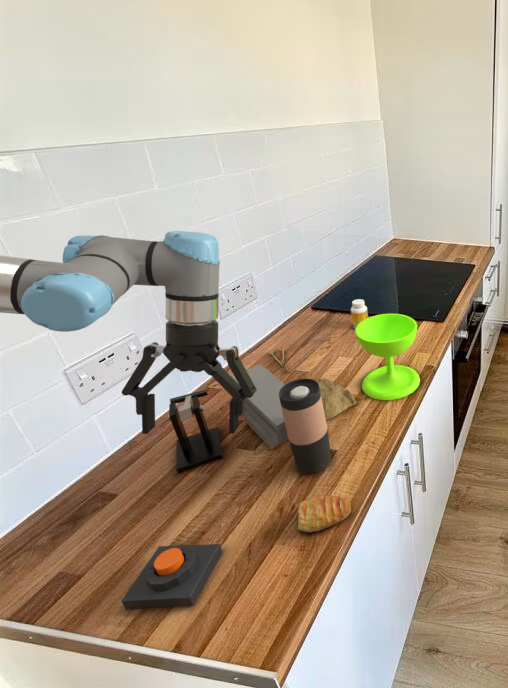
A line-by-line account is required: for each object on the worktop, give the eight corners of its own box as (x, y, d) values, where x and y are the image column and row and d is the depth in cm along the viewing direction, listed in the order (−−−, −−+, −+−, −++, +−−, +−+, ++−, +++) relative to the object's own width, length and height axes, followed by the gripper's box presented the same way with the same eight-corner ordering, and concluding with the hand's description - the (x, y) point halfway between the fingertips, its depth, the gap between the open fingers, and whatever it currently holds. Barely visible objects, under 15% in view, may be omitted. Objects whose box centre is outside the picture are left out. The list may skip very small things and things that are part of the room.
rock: (358, 386, 117) (318, 385, 114) (357, 376, 109) (315, 375, 107) (354, 426, 112) (312, 427, 109) (353, 419, 105) (308, 419, 102)
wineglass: (401, 360, 133) (397, 308, 125) (431, 384, 123) (429, 329, 115) (351, 380, 123) (344, 325, 115) (380, 408, 113) (374, 349, 105)
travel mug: (289, 461, 95) (271, 388, 86) (322, 444, 100) (309, 373, 92) (304, 481, 91) (287, 406, 82) (338, 462, 96) (326, 389, 87)
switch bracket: (177, 443, 98) (160, 399, 93) (219, 431, 102) (205, 387, 97) (178, 473, 91) (159, 426, 85) (222, 458, 95) (207, 412, 90)
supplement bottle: (353, 323, 152) (350, 298, 148) (369, 322, 154) (366, 297, 149) (352, 330, 148) (349, 305, 143) (368, 329, 149) (365, 304, 145)
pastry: (351, 496, 88) (348, 483, 86) (351, 525, 82) (349, 511, 81) (300, 508, 85) (297, 494, 83) (297, 538, 79) (294, 525, 78)
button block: (125, 609, 67) (116, 594, 66) (162, 554, 75) (155, 539, 74) (193, 605, 68) (186, 590, 67) (222, 551, 76) (217, 537, 75)
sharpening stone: (237, 413, 108) (226, 377, 103) (269, 398, 114) (260, 364, 109) (285, 464, 95) (276, 425, 90) (319, 444, 100) (312, 407, 95)
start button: (151, 576, 69) (148, 569, 68) (166, 555, 72) (163, 548, 71) (175, 575, 69) (172, 568, 68) (189, 554, 72) (186, 547, 71)
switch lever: (172, 405, 100) (169, 396, 99) (208, 395, 104) (205, 386, 103) (166, 425, 89) (163, 415, 89) (207, 414, 93) (204, 404, 92)
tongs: (280, 374, 124) (279, 368, 123) (269, 355, 133) (267, 350, 132) (296, 369, 126) (295, 363, 125) (283, 351, 135) (282, 345, 134)
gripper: (276, 320, 83) (272, 421, 87) (120, 309, 76) (123, 420, 80) (265, 330, 76) (261, 440, 80) (92, 320, 69) (97, 441, 73)
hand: (192, 430), depth 80 cm, fingers open, 13 cm apart
